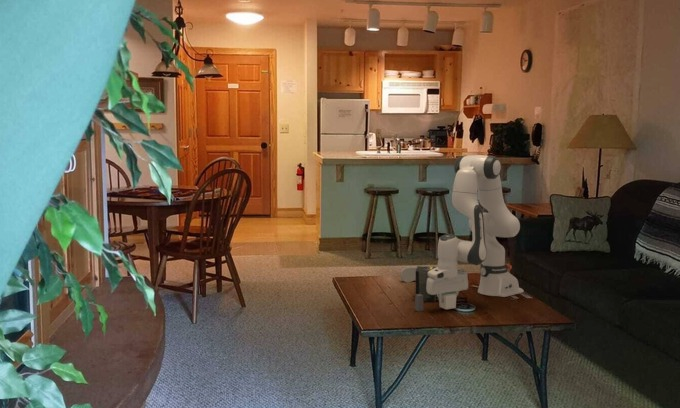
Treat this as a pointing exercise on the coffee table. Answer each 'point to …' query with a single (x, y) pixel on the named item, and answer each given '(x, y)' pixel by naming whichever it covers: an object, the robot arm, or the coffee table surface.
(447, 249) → the robot arm
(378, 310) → the coffee table surface
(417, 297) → the post
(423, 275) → the tampon box
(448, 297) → the white block
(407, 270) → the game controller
